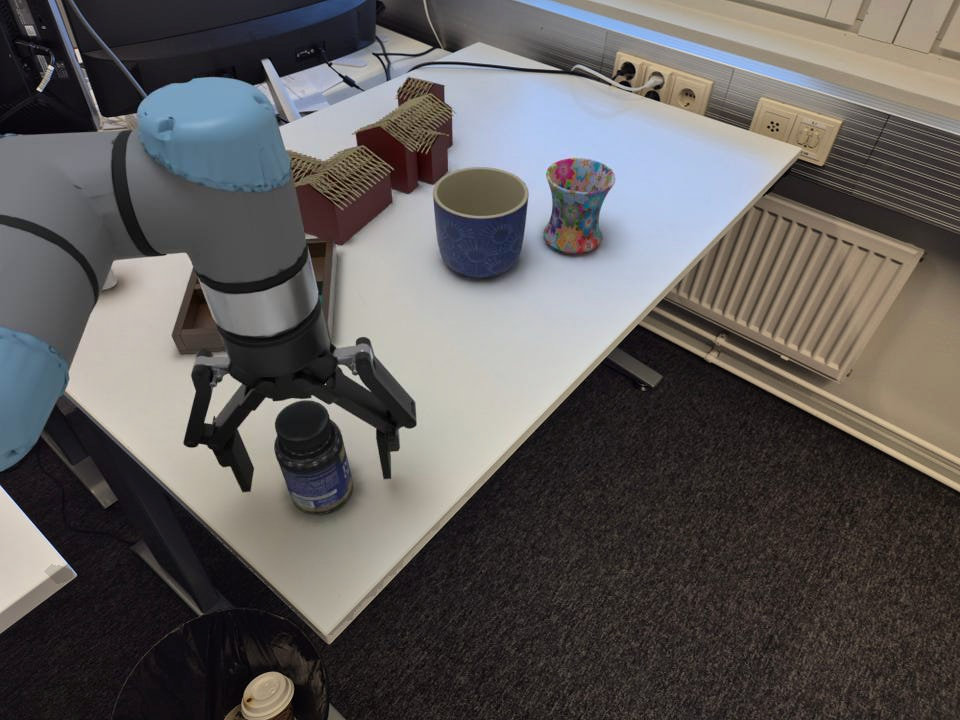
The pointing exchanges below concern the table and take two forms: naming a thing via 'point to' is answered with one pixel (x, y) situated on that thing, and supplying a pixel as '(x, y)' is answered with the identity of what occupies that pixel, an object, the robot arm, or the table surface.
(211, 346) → the wooden box
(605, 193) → the floral vase
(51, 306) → the robot arm
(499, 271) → the planter
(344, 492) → the pill bottle
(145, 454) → the table surface
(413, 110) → the toy houses
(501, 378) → the table surface
